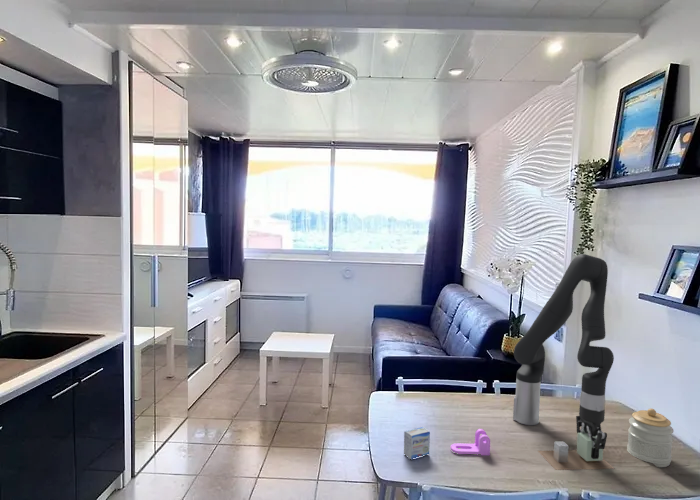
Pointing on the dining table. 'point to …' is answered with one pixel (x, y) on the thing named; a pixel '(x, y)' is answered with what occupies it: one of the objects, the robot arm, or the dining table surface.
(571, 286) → the robot arm
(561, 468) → the walnut board
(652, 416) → the jar
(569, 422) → the dining table surface
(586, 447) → the sage cap
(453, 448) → the bracket
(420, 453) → the medicine box
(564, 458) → the steel post
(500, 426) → the dining table surface
